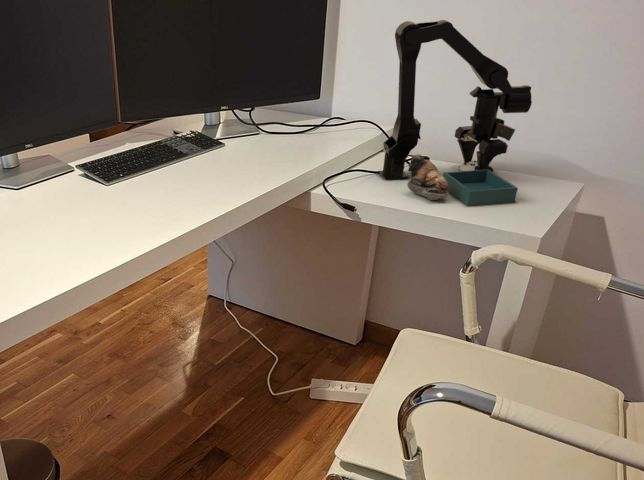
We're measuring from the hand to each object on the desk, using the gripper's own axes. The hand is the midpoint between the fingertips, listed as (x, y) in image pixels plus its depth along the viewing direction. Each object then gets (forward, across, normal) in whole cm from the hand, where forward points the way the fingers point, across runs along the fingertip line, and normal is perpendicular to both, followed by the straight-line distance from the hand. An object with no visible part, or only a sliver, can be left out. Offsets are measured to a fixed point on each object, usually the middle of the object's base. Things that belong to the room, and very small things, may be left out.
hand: (474, 170), depth 187 cm
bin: (+1, -15, +6) cm, 16 cm away
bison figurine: (+1, -14, +20) cm, 24 cm away
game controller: (+1, 0, 0) cm, 1 cm away
